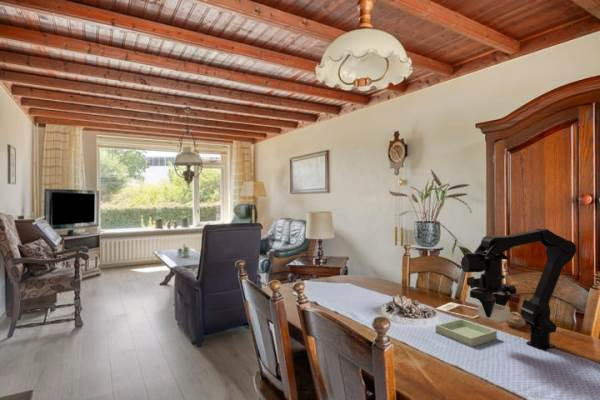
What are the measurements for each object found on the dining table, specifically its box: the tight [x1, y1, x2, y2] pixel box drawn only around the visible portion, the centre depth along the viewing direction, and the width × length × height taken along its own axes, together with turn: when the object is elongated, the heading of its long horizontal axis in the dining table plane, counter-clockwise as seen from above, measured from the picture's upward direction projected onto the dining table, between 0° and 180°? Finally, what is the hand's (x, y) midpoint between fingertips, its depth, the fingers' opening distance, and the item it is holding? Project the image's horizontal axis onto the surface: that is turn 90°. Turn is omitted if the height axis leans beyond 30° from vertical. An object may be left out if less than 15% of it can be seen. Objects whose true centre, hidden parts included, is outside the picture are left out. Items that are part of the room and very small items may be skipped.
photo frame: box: [434, 301, 479, 320], centre depth 163 cm, size 15×1×18 cm
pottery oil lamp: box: [505, 311, 527, 329], centre depth 144 cm, size 9×12×7 cm
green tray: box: [435, 318, 498, 348], centre depth 133 cm, size 15×16×3 cm
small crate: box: [477, 303, 511, 324], centre depth 123 cm, size 6×8×4 cm
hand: (493, 315), depth 123 cm, fingers closed on small crate, 6 cm apart
